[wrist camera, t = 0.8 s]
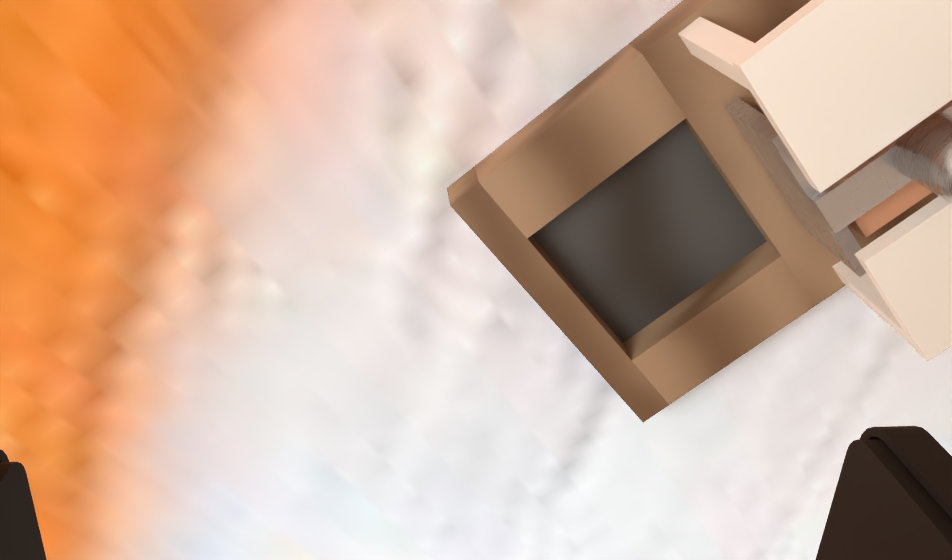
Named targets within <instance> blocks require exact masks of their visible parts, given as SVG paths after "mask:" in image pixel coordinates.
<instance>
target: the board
mask: <svg viewBox="0 0 952 560" xmlns="http://www.w3.org/2000/svg"><path fill="white" fill-rule="evenodd" d="M810 1H811V0H683V1H682V2H681V3H680V4H678V5H677V6H676V7H675V8H673V9H672V10H671V11H670V12H668V13H667V14H666V15H665V16H663V17H662V18H661V19H660V20H658V21H657V22H656V23H654V24H653V25H652V26H651V27H649V28H648V29H647V30H646V31H644V32H643V33H642V34H641V35H639V36H638V37H637V38H636V39H634V40H633V41H632V42H631V43H629V44H628V45H627V46H626V47H624V48H623V49H622V50H621V51H619V52H618V53H617V54H616V55H614V56H613V57H612V58H610V59H609V60H608V61H607V62H605V63H604V64H603V65H602V66H600V67H599V68H598V69H597V70H595V71H594V72H593V73H592V74H590V75H589V76H588V77H587V78H585V79H584V80H583V81H582V82H580V83H579V84H578V85H577V86H575V87H574V88H573V89H572V90H570V91H569V92H568V93H566V94H565V95H564V96H563V97H561V98H560V99H559V100H558V101H556V102H555V103H554V104H553V105H551V106H550V107H549V108H548V109H546V110H545V111H544V112H543V113H541V114H540V115H539V116H538V117H536V118H535V119H534V120H533V121H531V122H530V123H529V124H528V125H526V126H525V127H524V128H522V129H521V130H520V131H519V132H517V133H516V134H515V135H514V136H512V137H511V138H510V139H509V140H507V141H506V142H505V143H504V144H502V145H501V146H500V147H499V148H497V149H496V150H495V151H494V152H492V153H491V154H490V155H489V156H487V157H486V158H485V159H483V160H482V161H481V162H480V163H478V164H477V165H476V166H475V167H473V168H472V169H471V170H470V171H468V172H467V173H466V174H465V175H463V176H462V177H461V178H460V179H458V180H457V181H456V182H455V183H453V184H452V185H451V186H450V187H448V188H447V191H448V196H449V201H450V206H451V207H452V208H453V209H454V210H455V211H456V212H457V213H458V215H459V216H460V217H461V218H462V219H463V220H464V221H465V222H466V224H467V225H468V226H469V227H470V228H471V229H472V230H473V231H474V233H475V234H476V235H477V236H478V237H479V238H480V239H481V240H482V242H483V243H484V244H485V245H486V246H487V247H488V248H489V249H490V251H491V252H492V253H493V254H494V255H495V256H496V257H497V258H498V260H499V261H500V262H501V263H502V264H503V265H504V266H505V267H506V269H507V270H508V271H509V272H510V273H511V274H512V275H513V276H514V278H515V279H516V280H517V281H518V282H519V283H520V284H521V285H522V287H523V288H524V289H525V290H526V291H527V292H528V293H529V294H530V296H531V297H532V298H533V299H534V300H535V301H536V302H537V303H538V305H539V306H540V307H541V308H542V309H543V310H544V311H545V312H546V314H547V315H548V316H549V317H550V318H551V319H552V320H553V321H554V323H555V324H556V325H557V326H558V327H559V328H560V329H561V330H562V332H563V333H564V334H565V335H566V336H567V337H568V338H569V339H570V341H571V342H572V343H573V344H574V345H575V346H576V347H577V348H578V350H579V351H580V352H581V353H582V354H583V355H584V356H585V357H586V359H587V360H588V361H589V362H590V363H591V364H592V365H593V366H594V368H595V369H596V370H597V371H598V372H599V373H600V374H601V375H602V377H603V378H604V379H605V380H606V381H607V382H608V383H609V384H610V386H611V387H612V388H613V389H614V390H615V391H616V392H617V393H618V395H619V396H620V397H621V398H622V399H623V400H624V401H625V402H626V404H627V405H628V406H629V407H630V408H631V409H632V410H633V411H634V413H635V414H636V415H637V416H638V417H639V418H640V419H641V420H642V422H644V421H646V420H647V419H649V418H650V417H652V416H653V415H655V414H656V413H658V412H659V411H661V410H662V409H664V408H665V407H667V406H668V405H670V404H671V403H672V402H674V401H675V400H677V399H678V398H680V397H681V396H683V395H684V394H686V393H687V392H689V391H690V390H692V389H693V388H695V387H696V386H698V385H699V384H700V383H702V382H703V381H705V380H706V379H708V378H709V377H711V376H712V375H714V374H715V373H717V372H718V371H720V370H721V369H723V368H724V367H726V366H727V365H729V364H730V363H731V362H733V361H734V360H736V359H737V358H739V357H740V356H742V355H743V354H745V353H746V352H748V351H749V350H751V349H752V348H754V347H755V346H757V345H758V344H759V343H761V342H762V341H764V340H765V339H767V338H768V337H770V336H771V335H773V334H774V333H776V332H777V331H779V330H780V329H782V328H783V327H785V326H786V325H787V324H789V323H790V322H792V321H793V320H795V319H796V318H798V317H799V316H801V315H802V314H804V313H805V312H807V311H808V310H810V309H811V308H813V307H814V306H815V305H817V304H818V303H820V302H821V301H823V300H824V299H826V298H827V297H829V296H830V295H832V294H833V293H835V292H836V291H838V290H839V289H841V288H842V287H843V286H845V284H844V283H843V282H842V281H841V279H840V278H839V276H838V275H837V273H836V272H835V270H834V269H833V267H832V266H834V265H835V264H837V263H838V262H840V261H841V260H839V259H838V258H837V257H836V256H835V255H834V254H833V253H831V252H830V251H829V250H828V249H827V248H826V247H825V246H823V245H822V244H821V243H820V242H819V241H818V240H817V239H815V238H814V237H813V236H812V235H811V234H810V233H809V232H807V230H806V229H805V227H804V226H803V224H802V223H801V221H800V220H799V218H798V217H797V215H796V214H795V212H794V211H793V209H792V208H791V206H790V205H789V203H788V202H787V200H786V199H785V197H784V196H783V194H782V193H781V191H780V190H779V188H778V187H777V185H776V184H775V182H774V181H773V179H772V178H771V176H770V175H769V173H768V172H767V170H766V169H765V167H764V165H763V164H762V162H761V161H760V159H759V158H758V156H757V155H756V153H755V152H754V150H753V149H752V147H751V146H750V144H749V143H748V141H747V140H746V138H745V137H744V135H743V134H742V132H741V131H740V129H739V128H738V126H737V125H736V123H735V122H734V120H733V119H732V117H731V116H730V114H729V113H728V111H727V110H726V108H725V107H726V106H727V105H728V104H730V103H731V102H732V101H733V100H735V99H736V98H737V97H738V98H739V99H741V100H742V101H744V102H745V103H747V104H748V105H750V106H751V107H753V108H754V109H756V110H757V111H759V112H760V113H762V112H761V111H760V109H759V108H758V106H757V105H756V103H755V101H756V99H755V98H754V96H753V95H752V93H751V92H750V90H748V89H747V88H745V87H743V86H742V85H740V84H739V83H737V82H735V81H734V80H732V79H731V78H729V77H727V76H726V75H724V74H723V73H721V72H719V71H718V70H716V69H715V68H713V67H711V66H710V65H708V64H706V63H705V62H703V61H702V60H700V59H698V58H697V57H695V56H694V55H692V54H691V53H690V51H689V50H688V48H687V46H686V45H685V43H684V42H683V40H682V39H681V37H680V36H679V34H678V33H679V32H681V31H682V30H683V29H685V28H686V27H687V26H688V25H690V24H691V23H692V22H693V21H695V20H696V19H697V18H699V17H702V18H704V19H706V20H708V21H710V22H712V23H715V24H717V25H719V26H721V27H723V28H725V29H727V30H729V31H731V32H733V33H735V34H737V35H739V36H741V37H743V38H745V39H747V40H750V41H752V42H754V43H756V42H757V41H759V40H760V39H761V38H763V37H764V36H765V35H766V34H768V33H769V32H770V31H772V30H773V29H774V28H776V27H777V26H778V25H780V24H781V23H782V22H783V21H785V20H786V19H787V18H789V17H790V16H791V15H793V14H794V13H795V12H797V11H798V10H799V9H800V8H802V7H803V6H804V5H806V4H807V3H808V2H810ZM937 197H938V195H936V194H934V193H933V192H932V193H930V194H929V195H927V196H926V197H924V198H923V199H922V200H920V201H919V202H917V203H916V204H914V205H913V206H911V207H910V208H908V209H907V210H906V211H904V212H903V213H901V214H900V215H898V216H897V217H895V218H894V219H892V220H891V221H890V222H888V223H887V224H885V225H884V226H882V227H881V228H879V229H878V230H877V231H875V232H874V233H872V234H871V235H869V236H868V237H864V236H863V235H862V234H860V233H859V232H858V231H857V230H855V229H854V228H853V227H851V226H850V225H848V228H849V230H850V231H851V233H852V234H853V236H854V237H855V239H856V241H857V242H858V244H859V245H860V247H861V249H862V248H864V247H865V246H867V245H868V244H870V243H871V242H873V241H874V240H876V239H877V238H878V237H880V236H881V235H883V234H884V233H886V232H887V231H889V230H890V229H892V228H893V227H894V226H896V225H897V224H899V223H900V222H902V221H903V220H905V219H906V218H908V217H909V216H911V215H912V214H913V213H915V212H916V211H918V210H919V209H921V208H922V207H924V206H925V205H927V204H928V203H930V202H931V201H932V200H934V199H935V198H937Z"/></svg>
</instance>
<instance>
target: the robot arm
mask: <svg viewBox="0 0 952 560" xmlns="http://www.w3.org/2000/svg"><path fill="white" fill-rule="evenodd" d="M0 560H46V556H45V552H44V547H43V543H42V539H41V534H40V530H39V526H38V522H37V517H36V513H35V509H34V504H33V500H32V496H31V492H30V487H29V483H28V479H27V474H26V471H25V468H24V466H23V465H22V464H21V463H19V462H9V460H8V457H7V455H6V454H5V453H4V452H3V450H0ZM816 560H952V456H951V455H950V454H949V453H948V452H947V451H946V450H945V449H944V448H943V447H942V446H941V445H940V444H939V443H938V442H937V441H936V440H935V439H934V438H933V437H932V436H931V435H930V434H929V433H928V432H927V431H926V430H924V429H923V428H921V427H917V426H897V427H872V428H868V429H866V431H865V432H864V433H863V434H862V435H861V438H860V440H855V441H853V442H852V443H851V444H850V445H849V447H848V450H847V453H846V456H845V460H844V463H843V467H842V470H841V474H840V477H839V481H838V484H837V487H836V491H835V494H834V498H833V501H832V505H831V508H830V512H829V515H828V519H827V522H826V526H825V529H824V533H823V536H822V540H821V543H820V546H819V550H818V553H817V557H816Z"/></svg>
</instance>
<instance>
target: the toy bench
mask: <svg viewBox="0 0 952 560" xmlns="http://www.w3.org/2000/svg"><path fill="white" fill-rule="evenodd" d="M678 34H679V36H680V37H681V39H682V40H683V42H684V43H685V45H686V46H687V48H688V50H689V51H690V53H691V54H692V55H694V56H695V57H697V58H698V59H700V60H702V61H703V62H705V63H706V64H708V65H710V66H711V67H713V68H715V69H716V70H718V71H719V72H721V73H723V74H724V75H726V76H727V77H729V78H731V79H732V80H734V81H735V82H737V83H739V84H740V85H742V86H743V87H745V88H747V89H748V90H750V92H751V93H752V95H753V96H754V98H755V99H756V101H757V103H758V104H759V106H760V107H761V109H762V110H763V112H764V114H765V115H766V117H767V118H768V120H769V121H770V123H771V124H772V126H773V128H774V129H775V131H776V132H777V134H778V135H779V137H780V139H781V140H782V142H783V143H784V145H785V146H786V148H787V149H788V151H789V153H790V154H791V156H792V157H793V159H794V160H795V162H796V164H797V165H798V167H799V168H800V170H801V171H802V173H803V174H804V176H805V178H806V179H807V181H808V182H809V184H810V185H811V186H812V187H813V188H814V189H815V190H817V191H818V192H819V193H821V192H823V191H824V190H825V189H827V188H828V187H830V186H831V185H832V184H834V183H835V182H837V181H838V180H839V179H841V178H842V177H844V176H845V175H847V174H848V173H849V172H851V171H852V170H854V169H855V168H856V167H858V166H859V165H861V164H862V163H863V162H865V161H866V160H868V159H869V158H870V157H872V156H873V155H875V154H876V153H878V152H879V151H880V150H882V149H883V148H885V147H886V146H887V145H889V144H890V143H892V142H893V141H894V140H896V139H897V138H899V137H900V136H902V135H903V134H904V133H906V132H907V131H909V130H910V129H911V128H913V127H914V126H916V125H917V124H918V123H920V122H921V121H923V120H924V119H925V118H927V117H928V116H930V115H931V114H933V113H934V112H935V111H937V110H938V109H940V108H941V107H942V106H944V105H945V104H947V103H948V102H949V101H951V100H952V0H811V1H810V2H808V3H807V4H806V5H804V6H803V7H802V8H800V9H799V10H798V11H797V12H795V13H794V14H793V15H791V16H790V17H789V18H787V19H786V20H785V21H783V22H782V23H781V24H780V25H778V26H777V27H776V28H774V29H773V30H772V31H770V32H769V33H768V34H766V35H765V36H764V37H763V38H761V39H760V40H759V41H757V42H756V43H754V42H752V41H750V40H747V39H745V38H743V37H741V36H739V35H737V34H735V33H733V32H731V31H729V30H727V29H725V28H723V27H721V26H719V25H717V24H715V23H712V22H710V21H708V20H706V19H704V18H702V17H699V18H697V19H696V20H695V21H693V22H692V23H691V24H690V25H688V26H687V27H686V28H685V29H683V30H682V31H681V32H679V33H678ZM855 256H856V257H857V259H858V260H859V262H860V264H861V265H862V267H863V268H864V270H865V271H866V273H865V274H864V275H863V276H861V277H859V276H858V275H857V274H856V273H854V272H853V271H852V270H851V269H850V268H849V267H848V266H846V265H845V264H844V263H843V262H842V261H840V262H838V263H837V264H835V265H834V266H832V267H833V269H834V270H835V272H836V273H837V275H838V276H839V278H840V279H841V281H842V282H843V283H844V284H845V285H846V286H847V287H848V288H849V289H850V290H852V291H853V292H854V293H855V294H856V295H857V296H858V297H859V298H860V299H861V300H862V301H864V302H865V303H866V304H867V305H868V306H869V307H870V308H871V309H872V310H873V311H874V312H876V313H877V314H878V315H879V316H880V317H881V318H882V319H883V320H884V321H885V322H886V323H888V324H889V325H890V326H891V327H892V328H893V329H894V330H895V331H896V332H897V333H898V334H900V335H901V336H902V337H903V338H904V339H905V340H906V341H907V342H908V343H909V344H910V345H912V346H913V347H914V348H915V349H916V351H917V352H918V353H919V354H920V355H921V356H922V357H923V358H924V359H925V360H926V361H929V360H930V359H932V358H934V357H935V356H937V355H938V354H940V353H941V352H943V351H945V350H946V349H948V348H949V347H951V346H952V204H951V203H949V202H948V201H946V200H944V199H943V198H941V197H939V196H938V197H937V198H935V199H934V200H932V201H931V202H930V203H928V204H927V205H925V206H924V207H922V208H921V209H919V210H918V211H916V212H915V213H913V214H912V215H911V216H909V217H908V218H906V219H905V220H903V221H902V222H900V223H899V224H897V225H896V226H894V227H893V228H892V229H890V230H889V231H887V232H886V233H884V234H883V235H881V236H880V237H878V238H877V239H876V240H874V241H873V242H871V243H870V244H868V245H867V246H865V247H864V248H862V249H861V250H859V251H858V252H857V253H855Z"/></svg>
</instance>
